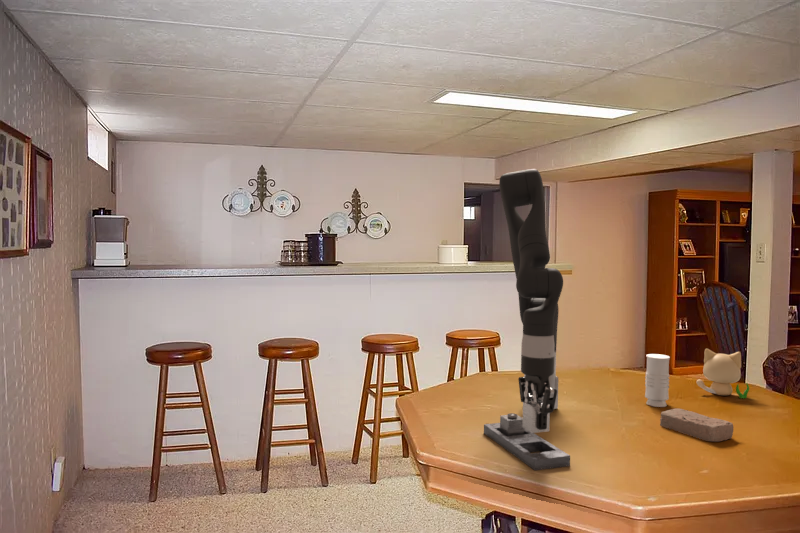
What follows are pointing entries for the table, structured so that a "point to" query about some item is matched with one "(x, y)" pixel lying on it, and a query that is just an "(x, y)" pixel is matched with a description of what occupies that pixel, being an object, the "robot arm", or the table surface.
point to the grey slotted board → (529, 448)
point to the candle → (657, 379)
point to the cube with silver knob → (532, 417)
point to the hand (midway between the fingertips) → (535, 425)
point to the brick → (697, 425)
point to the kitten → (722, 373)
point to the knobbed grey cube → (511, 425)
